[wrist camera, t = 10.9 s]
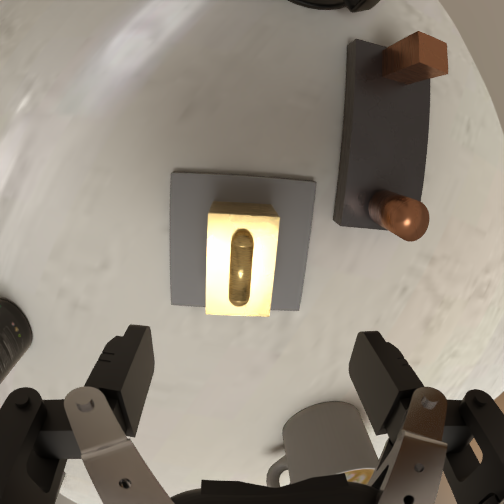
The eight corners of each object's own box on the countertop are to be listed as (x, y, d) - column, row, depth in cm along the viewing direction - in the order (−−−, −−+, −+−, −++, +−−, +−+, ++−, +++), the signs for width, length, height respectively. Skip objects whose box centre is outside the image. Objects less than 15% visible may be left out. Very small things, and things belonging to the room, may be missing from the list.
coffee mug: (350, 389, 31) (379, 456, 22) (364, 430, 34) (387, 487, 25) (243, 428, 32) (247, 497, 23) (273, 463, 36) (281, 521, 26)
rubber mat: (172, 172, 23) (171, 172, 22) (313, 181, 24) (316, 182, 23) (172, 300, 26) (171, 304, 26) (297, 306, 27) (299, 310, 26)
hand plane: (347, 45, 20) (386, 14, 13) (418, 67, 20) (469, 50, 13) (332, 220, 25) (369, 248, 18) (403, 227, 25) (452, 254, 18)
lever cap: (213, 201, 23) (206, 217, 18) (271, 204, 23) (282, 221, 18) (210, 286, 25) (204, 322, 20) (263, 288, 25) (271, 324, 20)
